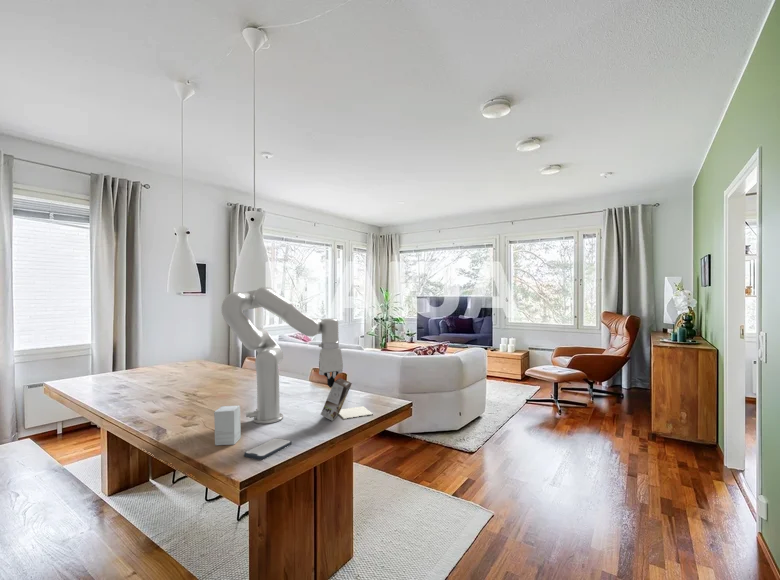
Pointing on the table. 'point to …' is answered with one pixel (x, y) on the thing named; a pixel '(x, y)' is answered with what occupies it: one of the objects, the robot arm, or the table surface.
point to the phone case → (267, 449)
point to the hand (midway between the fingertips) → (331, 386)
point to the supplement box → (227, 425)
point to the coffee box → (336, 399)
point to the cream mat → (354, 412)
